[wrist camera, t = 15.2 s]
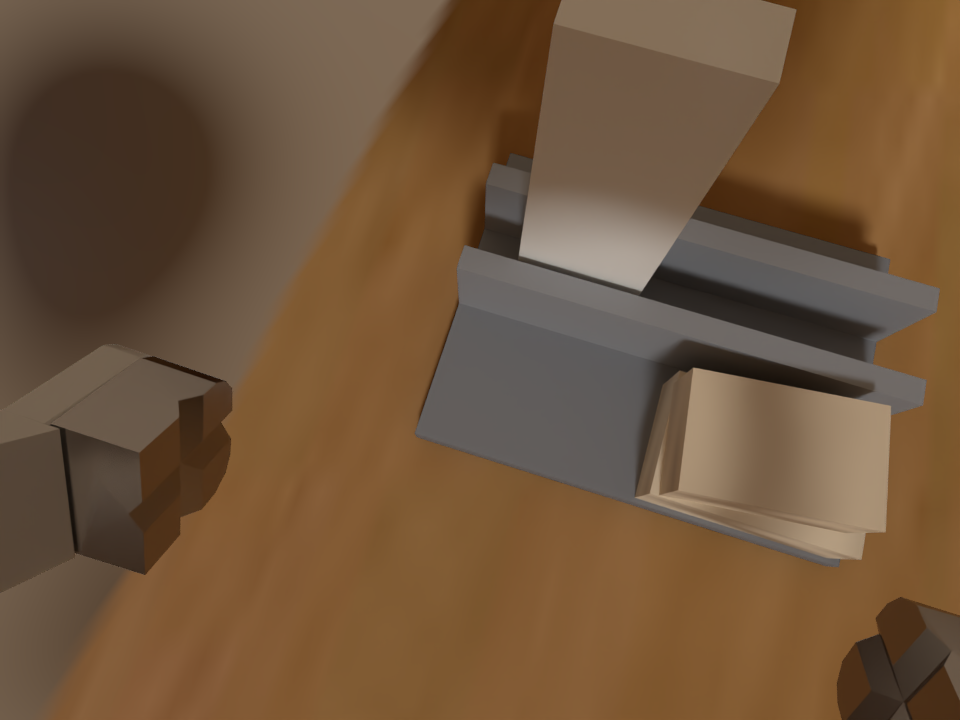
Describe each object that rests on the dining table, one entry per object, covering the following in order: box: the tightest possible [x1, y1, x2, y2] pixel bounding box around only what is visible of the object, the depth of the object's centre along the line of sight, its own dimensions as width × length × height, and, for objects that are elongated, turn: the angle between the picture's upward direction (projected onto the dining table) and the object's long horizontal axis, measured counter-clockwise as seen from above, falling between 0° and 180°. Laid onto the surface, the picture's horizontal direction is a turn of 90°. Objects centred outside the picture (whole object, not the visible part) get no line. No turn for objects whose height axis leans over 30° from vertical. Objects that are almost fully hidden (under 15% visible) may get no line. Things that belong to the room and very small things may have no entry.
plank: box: [518, 0, 797, 296], centre depth 23 cm, size 5×2×16 cm, turn 73°
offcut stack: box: [635, 368, 891, 560], centre depth 26 cm, size 8×5×5 cm, turn 73°
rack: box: [415, 153, 940, 567], centre depth 28 cm, size 18×14×5 cm
